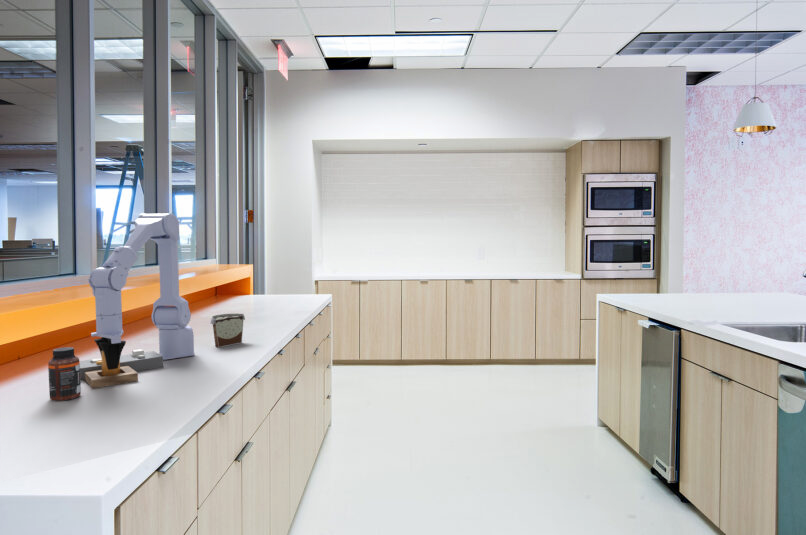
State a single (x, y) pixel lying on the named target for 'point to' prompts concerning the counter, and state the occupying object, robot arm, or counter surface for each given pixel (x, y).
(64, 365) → the supplement bottle
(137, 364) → the breaker panel
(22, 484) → the counter surface
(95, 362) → the white cube
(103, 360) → the cap
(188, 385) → the counter surface
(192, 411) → the counter surface
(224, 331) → the food container
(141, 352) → the block
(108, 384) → the frame
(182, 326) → the robot arm
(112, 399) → the counter surface
